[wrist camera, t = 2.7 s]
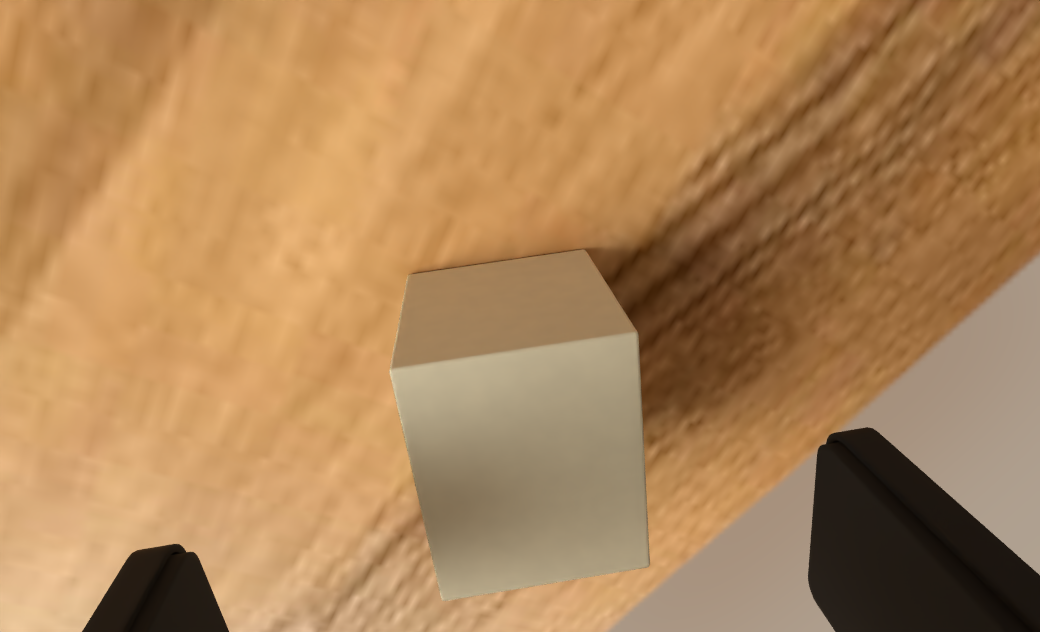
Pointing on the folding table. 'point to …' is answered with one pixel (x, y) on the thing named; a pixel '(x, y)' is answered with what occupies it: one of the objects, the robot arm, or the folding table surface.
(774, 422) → the folding table surface
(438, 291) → the beige block
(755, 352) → the folding table surface
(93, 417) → the folding table surface
